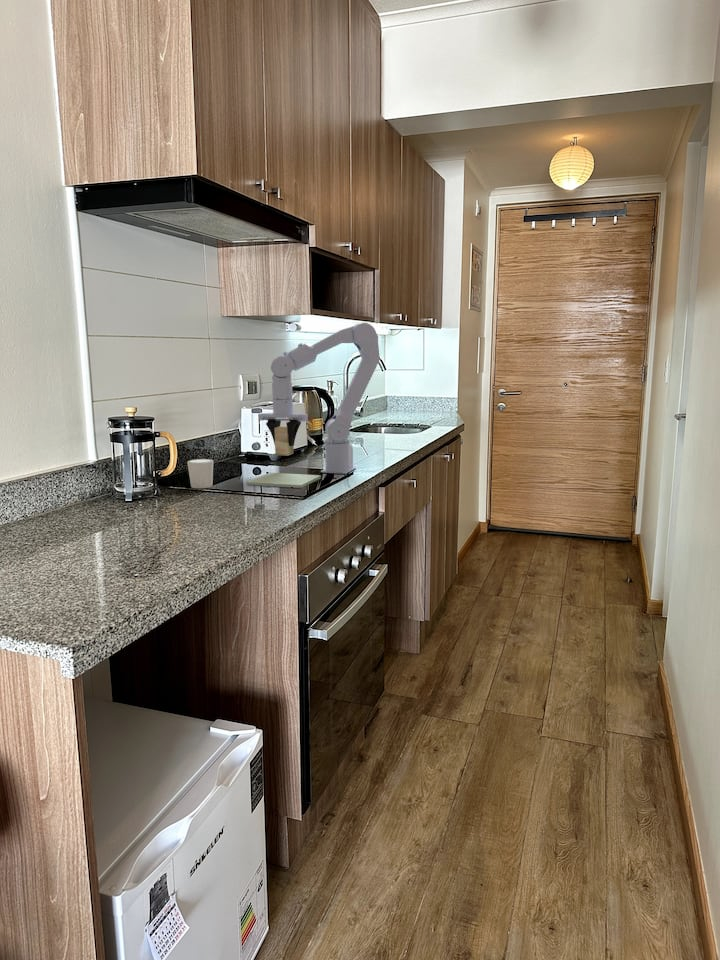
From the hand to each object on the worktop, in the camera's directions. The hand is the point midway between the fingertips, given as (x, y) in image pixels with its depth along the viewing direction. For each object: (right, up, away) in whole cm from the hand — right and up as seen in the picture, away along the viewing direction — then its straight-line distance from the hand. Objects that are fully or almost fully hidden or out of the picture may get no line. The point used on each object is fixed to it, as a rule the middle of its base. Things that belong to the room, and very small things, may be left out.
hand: (284, 445), depth 197 cm
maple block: (0, -3, 0) cm, 3 cm away
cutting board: (+1, -11, -10) cm, 15 cm away
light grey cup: (-21, -12, -15) cm, 28 cm away
